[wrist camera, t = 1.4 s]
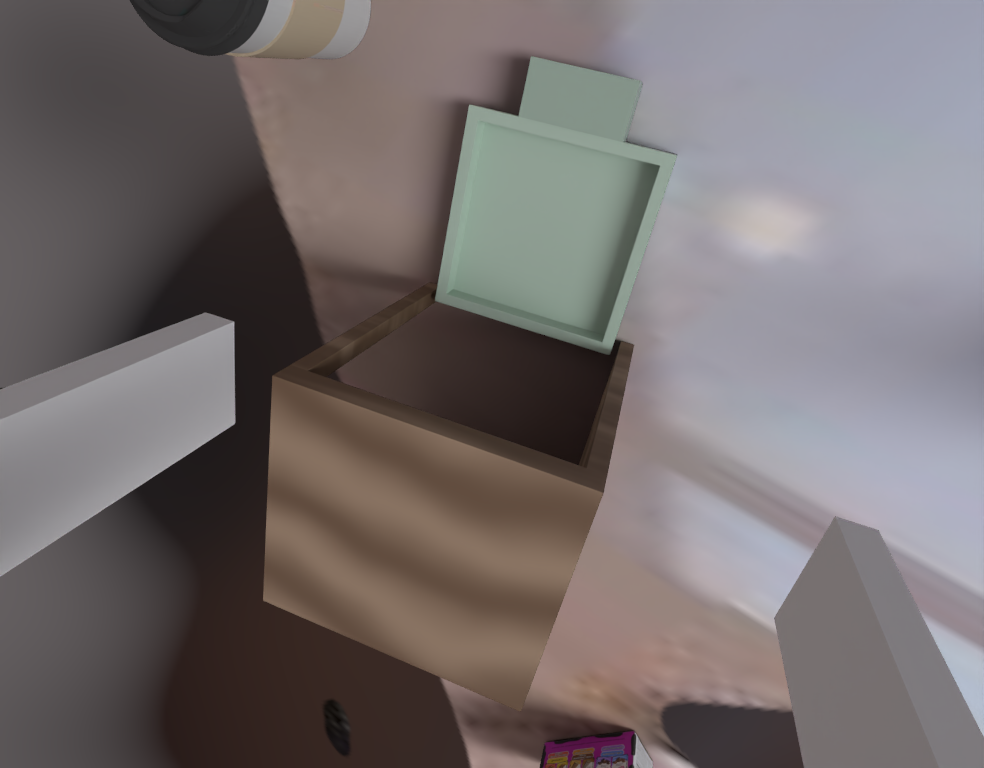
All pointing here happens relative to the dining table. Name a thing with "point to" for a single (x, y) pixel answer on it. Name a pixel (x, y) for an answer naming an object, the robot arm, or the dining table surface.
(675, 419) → the dining table surface
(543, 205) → the tray
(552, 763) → the candy bar box
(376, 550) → the hollow wooden crate
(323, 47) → the coffee cup
